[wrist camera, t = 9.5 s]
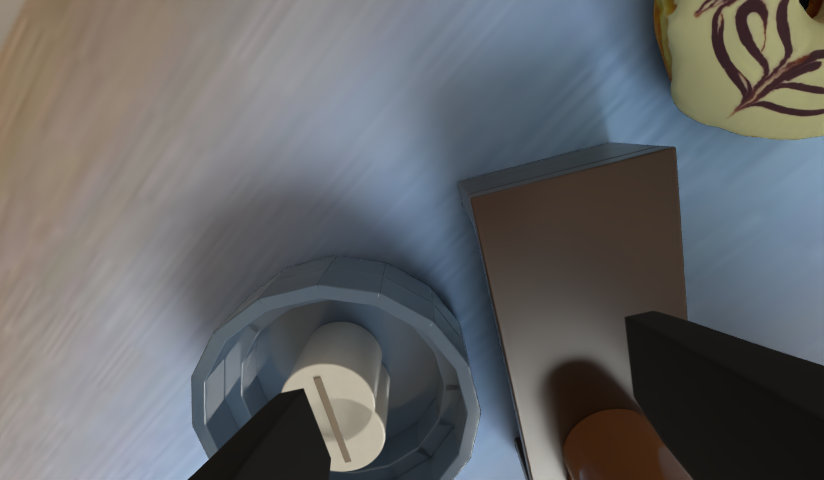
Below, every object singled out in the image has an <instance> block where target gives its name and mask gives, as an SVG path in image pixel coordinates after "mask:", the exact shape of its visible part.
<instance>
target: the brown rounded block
mask: <svg viewBox="0 0 824 480" xmlns="http://www.w3.org/2000/svg"><path fill="white" fill-rule="evenodd" d="M563 458H564V462H565V465H566V467H567V469H568V471H569V474H570V475H569V480H693V479H692V477H691V476H690V475H689V474H688V473H687V471H686V470H685V469H684V468H683V466H682V465H681V464H680V463H679V461H678V460H677V459H676V458H675V456H674V455H673V454H672V453H671V451H670V450H669V449H668V448H667V446H666V445H665V444H664V443H663V441H662V440H661V438H660V437H659V435H658V434H657V432H656V431H655V429H654V428H653V426H652V425H651V423H650V422H649V420H648V419H647V417H645V416H644V415H642V414H640V413H638V412H635V411H632V410H628V409H607V410H602V411H599V412H596V413H593V414H591V415H589V416H587V417H586V418H584V419H583V420H581V421H580V422H579V423H577V424H576V425H575V426H574V427H573V429H572V430H571V431H570V433H569V434H568V436H567V438H566V440H565V443H564V447H563Z"/></svg>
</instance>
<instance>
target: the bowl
mask: <svg viewBox="0 0 824 480" xmlns="http://www.w3.org/2000/svg"><path fill="white" fill-rule="evenodd" d="M332 322H350V323H354V324H357V325H359V326H361V327H363V328H365V329H366V330H367V331H369V332H370V333H371V334H372V335H373V336H374V337H375V339H376V340H377V342H378V344H379V346H380V348H381V352H382V364H383V365H384V367H385V368H386V370H387V372H388V374H389V377H390V395H389V406H388V417H387V427H386V438H385V443H384V446H383V449H382V450H381V452H380V454H379V455H378V456H377V457H376V459H374V460H373V461H372V462H371V463H369V464H368V465H366V466H364V467H362V468H360V469H357V470H353V471H345V472H339V471H331V470H330V475H329V480H454V479H455V477H456V476H457V475H458V473H459V472H460V471H461V470H462V468H463V467H464V466H465V465H466V463H467V462H468V461H469V460H470V458H471V455H472V450H473V446H474V442H475V437H476V433H477V429H478V424H479V420H480V415H481V409H480V405H479V401H478V397H477V393H476V388H475V384H474V380H473V376H472V371H471V367H470V363H469V359H468V355H467V351H466V347H465V343H464V339H463V335H462V331H461V327H460V324H459V322H458V321H457V320H456V319H455V317H454V316H453V315H452V313H451V312H450V311H449V310H448V308H447V307H446V306H445V305H444V303H443V302H442V301H441V300H440V298H439V297H438V296H437V295H436V293H435V292H434V291H433V290H432V288H430V286H428V285H426V284H424V283H422V282H420V281H419V280H417V279H415V278H413V277H411V276H410V275H408V274H406V273H404V272H402V271H401V270H399V269H397V268H395V267H393V266H392V265H390V264H388V263H383V262H376V261H368V260H361V259H353V258H346V257H339V256H336V257H335V256H332V257H328V258H324V259H320V260H316V261H312V262H308V263H304V264H299V265H295V266H291V267H287V268H286V269H284V270H283V271H281V272H280V273H279V274H277V275H276V276H275V277H273V278H272V279H271V280H269V281H268V282H267V283H266V284H264V285H263V286H262V287H260V288H259V289H258V290H256V291H255V292H254V293H252V294H251V295H250V296H249V297H248V298H247V299H246V300H245V301H244V302H243V303H242V304H241V305H240V306H239V307H238V308H237V309H236V310H235V311H234V312H233V313H232V314H231V315H230V316H229V317H228V318H227V319H226V320H225V321H224V322H223V323H222V324H221V325H220V326H219V327H218V328H217V329H216V330H215V331H214V332H213V334H212V336H211V338H210V340H209V342H208V344H207V346H206V348H205V350H204V352H203V354H202V356H201V358H200V360H199V362H198V364H197V366H196V368H195V370H194V372H193V374H192V378H191V389H192V425H193V428H194V430H195V432H196V434H197V436H198V438H199V440H200V442H201V444H202V446H203V448H204V450H205V452H206V454H207V456H208V458H209V459H210V458H211V457H212V456H213V455H214V454H215V453H216V452H217V451H218V450H219V449H220V448H221V447H222V446H223V445H224V444H225V443H226V442H227V441H228V440H229V439H230V438H231V437H232V436H233V435H234V434H235V433H236V432H237V431H238V430H240V429H241V428H242V427H243V426H244V425H245V424H246V423H247V422H248V421H249V420H250V419H251V418H252V417H253V416H254V415H255V414H256V413H257V412H258V411H259V410H260V409H261V408H262V407H263V406H264V405H266V404H267V403H268V402H269V401H270V400H271V399H272V398H274V397H275V396H276V395H277V394H279V393H281V391H282V388H283V386H284V384H285V382H286V380H287V378H288V376H289V374H290V372H291V370H292V368H293V366H294V364H295V362H296V360H297V358H298V356H299V354H300V352H301V350H302V348H303V346H304V344H305V342H306V341H307V339H308V337H309V336H310V335H311V334H312V332H314V331H315V330H316V329H317V328H319V327H321V326H323V325H325V324H328V323H332Z"/></svg>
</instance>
